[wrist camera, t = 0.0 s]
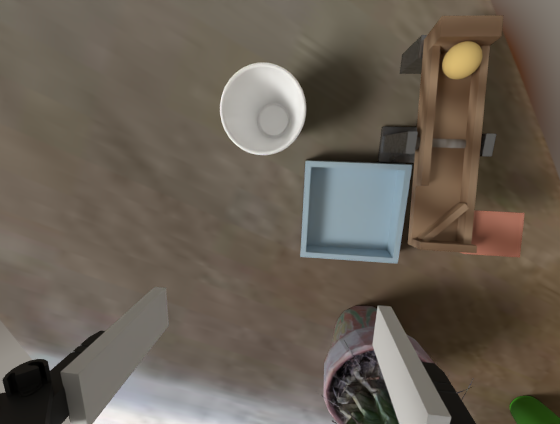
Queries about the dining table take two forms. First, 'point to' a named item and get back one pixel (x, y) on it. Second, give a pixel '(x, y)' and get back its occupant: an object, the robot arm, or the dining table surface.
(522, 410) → the cup
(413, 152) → the fulcrum
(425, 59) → the brown wooden trough
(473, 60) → the ball
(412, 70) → the block
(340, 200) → the dish
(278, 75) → the cup
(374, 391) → the potted plant
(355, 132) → the dining table surface
